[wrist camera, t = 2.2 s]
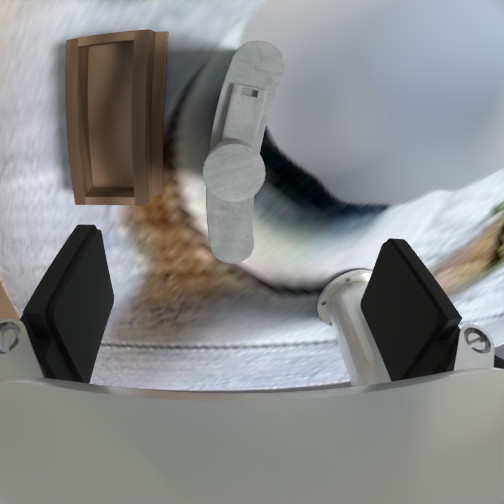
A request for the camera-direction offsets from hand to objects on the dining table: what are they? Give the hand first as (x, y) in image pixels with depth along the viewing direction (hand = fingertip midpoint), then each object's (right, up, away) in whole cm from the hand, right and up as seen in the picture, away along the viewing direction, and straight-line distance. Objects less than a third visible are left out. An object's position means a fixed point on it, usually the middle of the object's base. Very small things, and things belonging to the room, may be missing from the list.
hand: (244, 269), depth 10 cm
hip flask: (-2, +16, +24) cm, 29 cm away
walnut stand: (-16, +17, +22) cm, 32 cm away
